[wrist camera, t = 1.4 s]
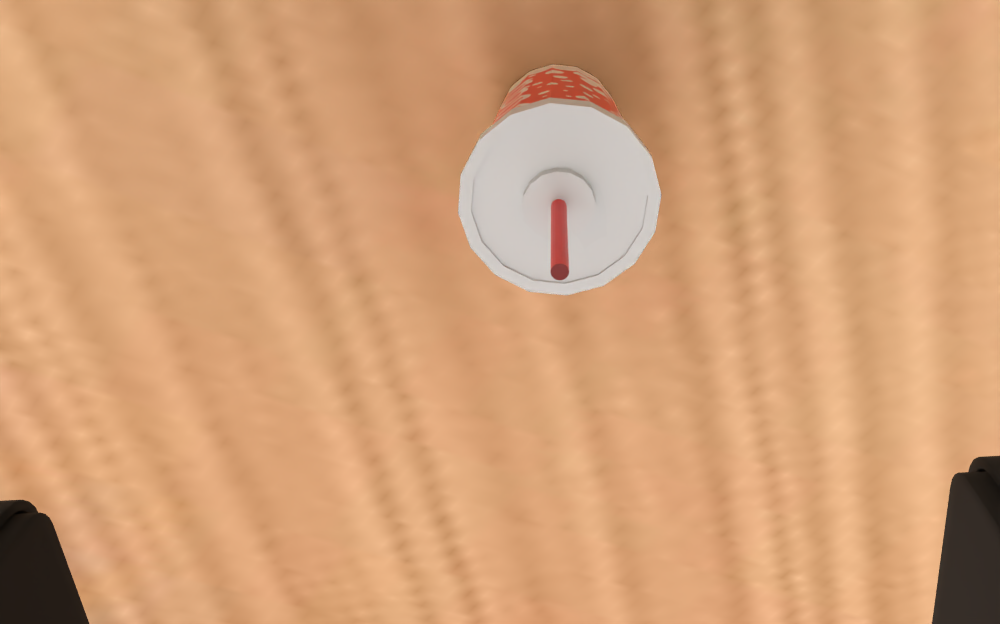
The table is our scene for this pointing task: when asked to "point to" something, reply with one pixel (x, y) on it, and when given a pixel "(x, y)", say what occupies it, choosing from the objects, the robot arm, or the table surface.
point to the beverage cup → (559, 186)
